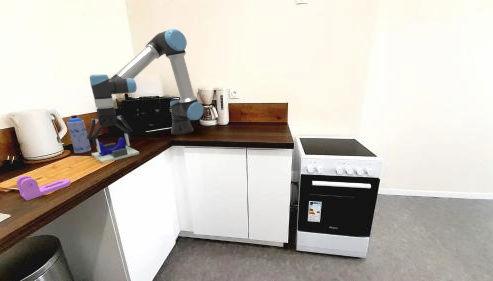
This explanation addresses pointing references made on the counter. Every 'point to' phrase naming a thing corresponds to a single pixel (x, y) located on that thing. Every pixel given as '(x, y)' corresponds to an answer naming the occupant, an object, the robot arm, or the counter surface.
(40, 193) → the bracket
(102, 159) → the board
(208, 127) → the counter surface
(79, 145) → the aerosol can
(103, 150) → the cable clip
